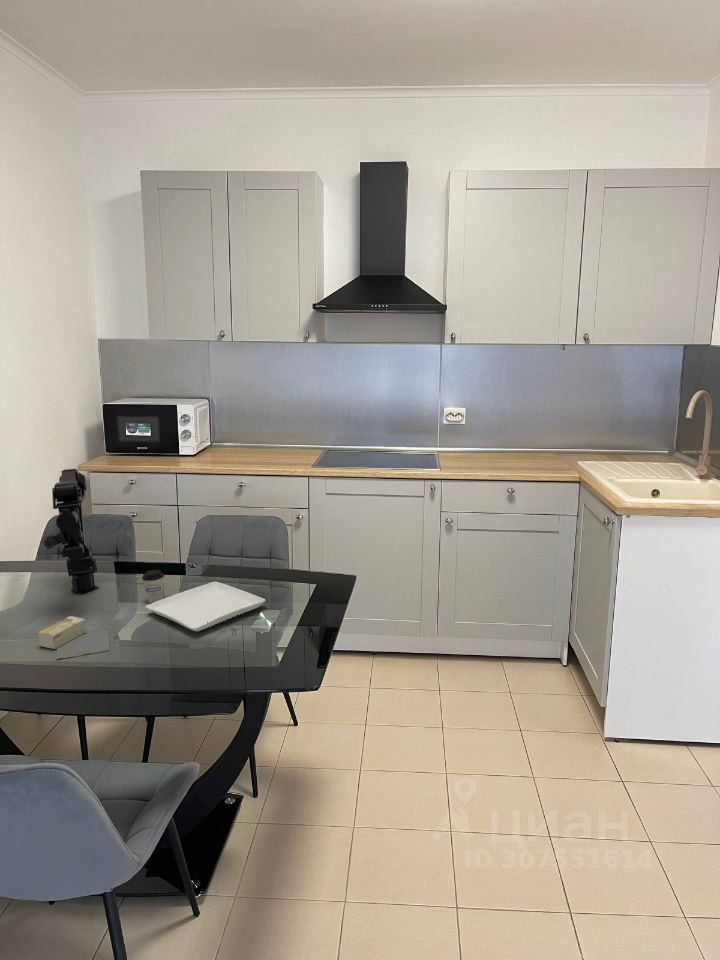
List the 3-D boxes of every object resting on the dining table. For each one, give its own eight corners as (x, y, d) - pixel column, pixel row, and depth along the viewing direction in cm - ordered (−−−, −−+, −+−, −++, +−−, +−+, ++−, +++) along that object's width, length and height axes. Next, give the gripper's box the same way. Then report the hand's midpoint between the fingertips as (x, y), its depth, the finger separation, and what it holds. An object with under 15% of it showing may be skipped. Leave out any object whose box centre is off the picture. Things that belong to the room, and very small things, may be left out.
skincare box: (85, 618, 217) (53, 635, 206) (87, 632, 218) (55, 649, 207) (68, 615, 219) (36, 632, 209) (70, 628, 220) (38, 646, 210)
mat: (58, 639, 214) (58, 638, 214) (108, 630, 219) (108, 629, 219) (56, 660, 201) (55, 659, 201) (109, 650, 206) (109, 649, 206)
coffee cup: (148, 597, 243) (145, 568, 241) (169, 596, 243) (166, 568, 241) (141, 605, 236) (138, 576, 234) (163, 605, 236) (159, 576, 234)
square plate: (268, 609, 231) (267, 598, 230) (194, 640, 211) (193, 627, 210) (216, 589, 249) (215, 578, 248) (144, 615, 229) (143, 604, 229)
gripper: (44, 517, 237) (50, 563, 240) (40, 533, 219) (47, 582, 223) (81, 513, 240) (86, 558, 244) (80, 528, 223) (86, 577, 227)
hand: (76, 569), depth 234 cm, fingers closed
